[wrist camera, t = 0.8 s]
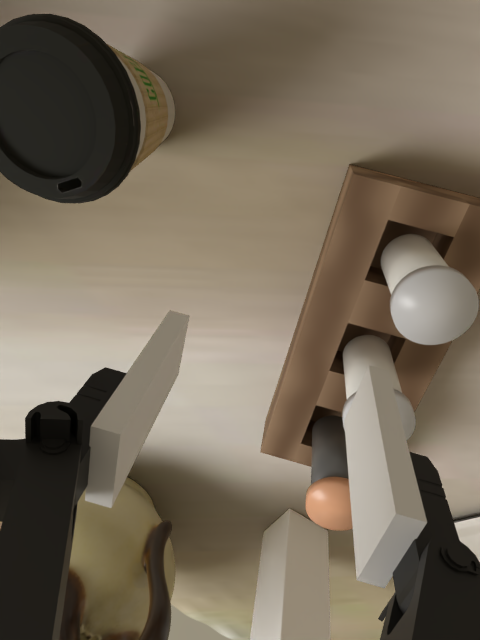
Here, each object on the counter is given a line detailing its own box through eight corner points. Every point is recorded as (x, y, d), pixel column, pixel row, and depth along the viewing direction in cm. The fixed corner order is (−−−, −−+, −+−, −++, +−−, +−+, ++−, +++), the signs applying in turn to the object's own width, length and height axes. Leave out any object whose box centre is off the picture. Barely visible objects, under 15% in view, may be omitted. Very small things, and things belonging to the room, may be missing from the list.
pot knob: (302, 443, 44) (298, 520, 36) (316, 406, 42) (316, 479, 34) (349, 456, 44) (356, 537, 36) (366, 420, 42) (378, 497, 34)
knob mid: (330, 370, 40) (333, 439, 32) (348, 324, 37) (356, 386, 30) (383, 384, 40) (399, 457, 32) (404, 339, 37) (427, 406, 29)
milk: (289, 507, 55) (274, 729, 36) (329, 530, 56) (335, 761, 37) (262, 532, 58) (234, 751, 39) (300, 554, 59) (292, 780, 39)
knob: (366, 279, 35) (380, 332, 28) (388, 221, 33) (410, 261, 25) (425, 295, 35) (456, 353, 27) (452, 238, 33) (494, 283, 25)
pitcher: (24, 524, 65) (-123, 745, 43) (44, 405, 54) (-141, 620, 32) (169, 575, 66) (96, 819, 44) (217, 469, 55) (153, 722, 33)
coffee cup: (172, 20, 34) (79, -27, 21) (212, 152, 38) (155, 184, 25) (63, 64, 36) (-82, 48, 23) (111, 184, 40) (10, 228, 27)
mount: (265, 420, 50) (260, 452, 45) (349, 164, 36) (353, 173, 32) (370, 450, 49) (375, 485, 45) (493, 201, 36) (518, 216, 32)
